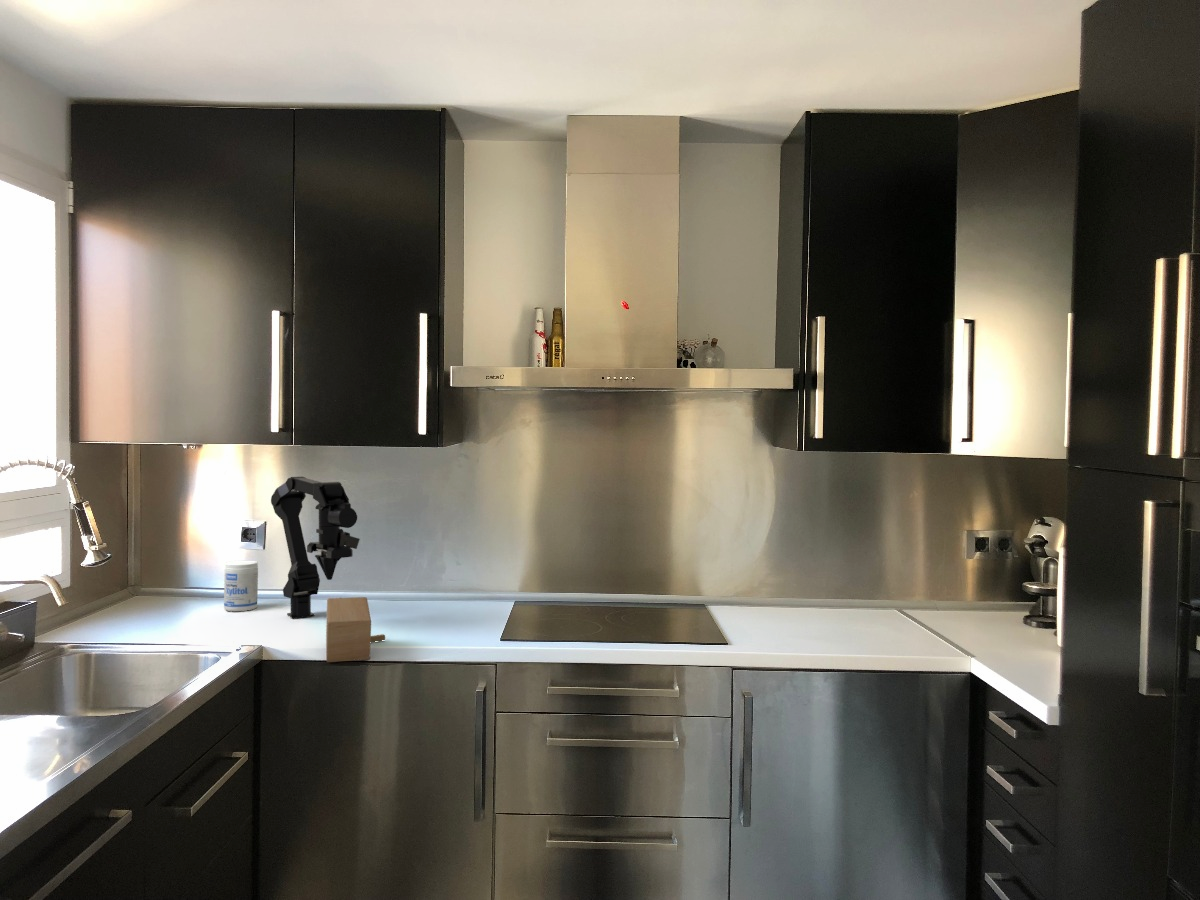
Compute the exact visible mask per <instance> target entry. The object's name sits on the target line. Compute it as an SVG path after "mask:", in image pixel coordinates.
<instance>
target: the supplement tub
mask: <svg viewBox="0 0 1200 900" xmlns="http://www.w3.org/2000/svg"><path fill="white" fill-rule="evenodd" d="M224 565H225V566H224V584H223V585H224V589H223V590H224V591H223V594H224V595H223V608H224V610H225V611H228V612H232V611H241V612H248V611H247V610H249V611H252V609H253V610H255V609H256V608H257V607H258V598H259V597H258V593H259V592H258V588H259V587H258V585H259V582H258V581H259V580H258V579H259V566H258V565H259V563H258V561H256V560H234V561H228V562H226V563H225V564H224Z"/></svg>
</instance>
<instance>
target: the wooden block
mask: <svg viewBox="0 0 1200 900" xmlns="http://www.w3.org/2000/svg"><path fill="white" fill-rule="evenodd" d="M326 601H327V602H326V626H325V627H326V629H325V631H326V632H325V633H326V634H325V637H326V638H325V642H326V643H325V646H326V648H325V650H326V651H325V653H326V659H325V660H326V662H327V663H336V662H337V663H338V662H352V661H353V662H354V661H355V662H356V661H369V660H370V658H371V643H370V642H371V636H372V619H371V613H370V608H369V601H368V597H366V596H362V597H361V596H358V597H334V598H332V597H331V598H327V600H326Z"/></svg>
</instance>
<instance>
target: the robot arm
mask: <svg viewBox="0 0 1200 900" xmlns="http://www.w3.org/2000/svg"><path fill="white" fill-rule="evenodd" d="M306 494H307V495H310V496H312V499H313V500H314V501H316V502H318V504H317V505H316V506H314V507H315V510H318V528H316V530H315V532H316V533H317V534H318V541H314V542H313V541H312V542H309V543H308V544H307V545H306V543H305V539H304V534H303V529H302V524H301V520H300V514H301V511H302V508H303V501H304V500H305V498H306V497H307V495H306ZM270 503H271V505H272V508H273V511H274V513H275V515H277V517H279V519H281V521H282V525H283V531H284V535H285V541H286V544H287V545H286V546H287V549H288V553H289V558H290V559H289V560H290V564H291V565H290V569H289V571H288V574H287V581H286V583H285V585H284V587H283V588H282V594H283V597H285V598H288V599H290V612H287V613H286V616H288V617H289V616H290V617H289V618H291V619H292V618H293V619H299V618H298V617H302V618H308V617H307V616H310V617H314V616H315V614H314V613H313V612H311V611H312V609H311V608H312V605H311V604H312V600H311V599H312V598H311V597H312V595H315V596H316V595H318V594H319V593H318V592H319V588H320V583H321V578H320V575H319V571H318V567H317V564H316V563H311V562H310V560H309V557H308V553H311V554H312V553H313V552H317V554H314V557H315V559H316V560H317V562H318V564H319V566H320V568H321V570H322V571H323V574H324V576H325V578H326V580H328V581H330V580H333V576H334V574H335V570H336V566H337V564H338V562H339V561H340V560H341V559H342V558H344V559H345V558H353V554H354V553H353V549H355V550H357V549H358V546H359V542H360V540H361V538H358V537H355V536H352V535H351V533H350V532H348V531H344V529H343V528H345V529H349V528H352V527H353V526H355V524H356V523H357V521H358V515H357V511H356V510H355V509H354V508H352V505H351V503H350V499H349V496H348V495H347V493H346V491H345V488H344V487H343V485H342V483H341V482H340V481H325V482H321V481H318V480H314V479H311V478H307V477H306V476H305V477H304V476H290V477H288V478H287V479H286V480H285V482H284V483H282V484H281V485H279V486H278V487H276V489H275V490H274V491H273V494H272V495H271V498H270Z"/></svg>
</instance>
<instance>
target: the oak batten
mask: <svg viewBox="0 0 1200 900" xmlns="http://www.w3.org/2000/svg"><path fill="white" fill-rule="evenodd" d="M382 640H385V641H386V635H385V634H383V633H382V634H375V635H371V642H375V641H382ZM382 642H383V641H382ZM375 643H376V642H375Z"/></svg>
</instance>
